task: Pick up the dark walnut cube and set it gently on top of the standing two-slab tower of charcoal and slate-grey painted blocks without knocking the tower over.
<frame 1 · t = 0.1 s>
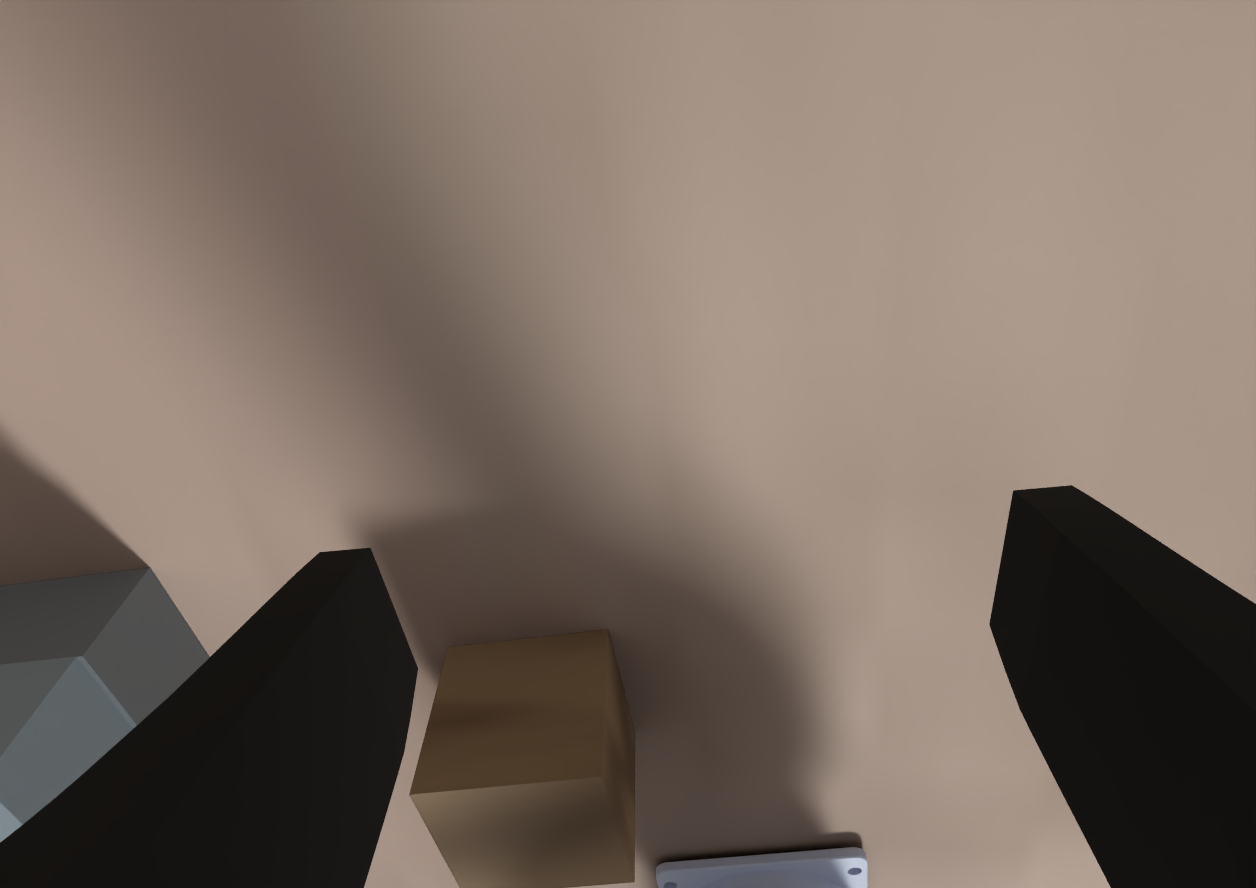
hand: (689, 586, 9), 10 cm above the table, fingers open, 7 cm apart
tower base: (112, 644, 25), on the table, touching tower middle
tower middle: (34, 741, 22), point 3 cm above the table, touching tower base
walnut cube: (545, 690, 26), on the table
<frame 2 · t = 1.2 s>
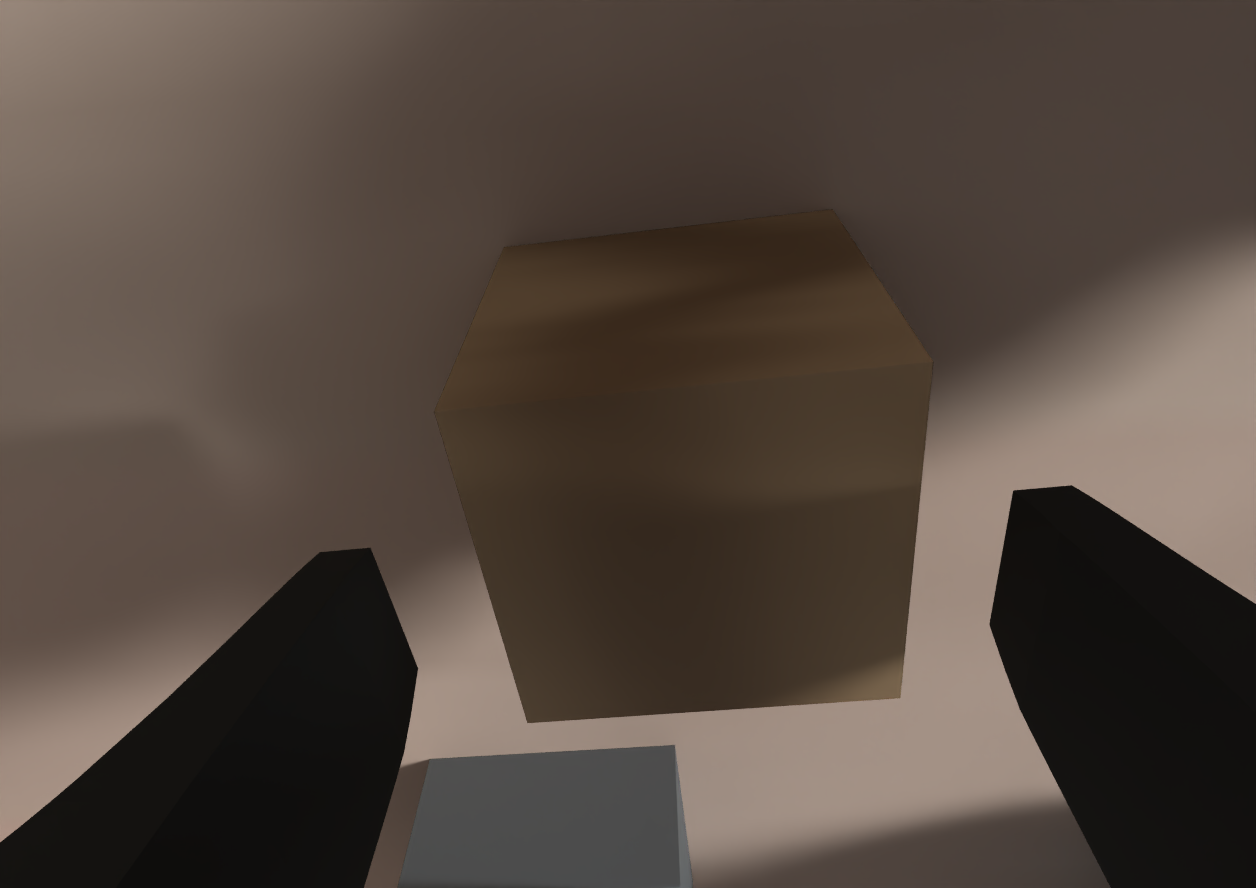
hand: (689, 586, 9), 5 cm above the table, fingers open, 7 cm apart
tower base: (570, 816, 21), on the table, touching tower middle
walnut cube: (679, 370, 13), on the table
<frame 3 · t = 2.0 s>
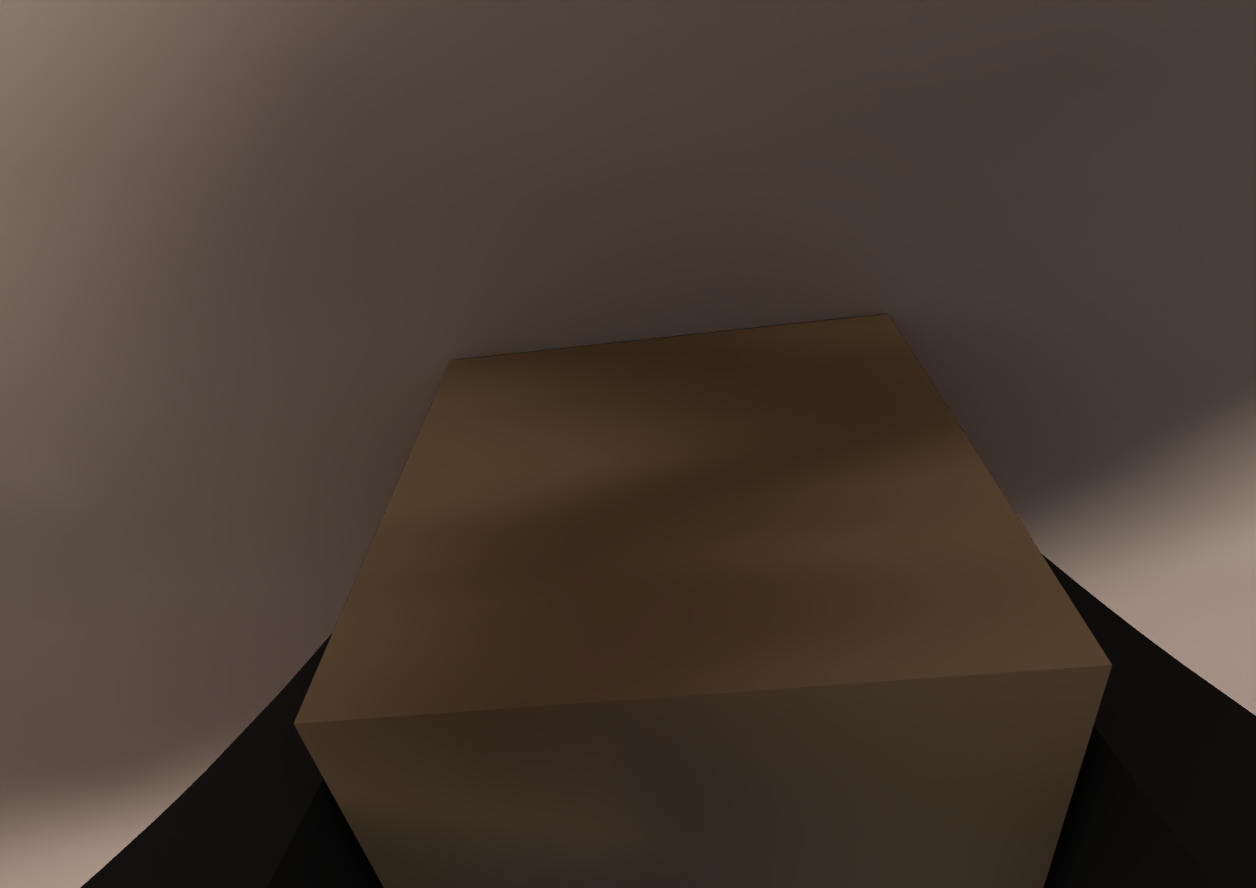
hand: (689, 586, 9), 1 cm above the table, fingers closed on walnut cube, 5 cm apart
walnut cube: (683, 510, 10), on the table, touching gripper
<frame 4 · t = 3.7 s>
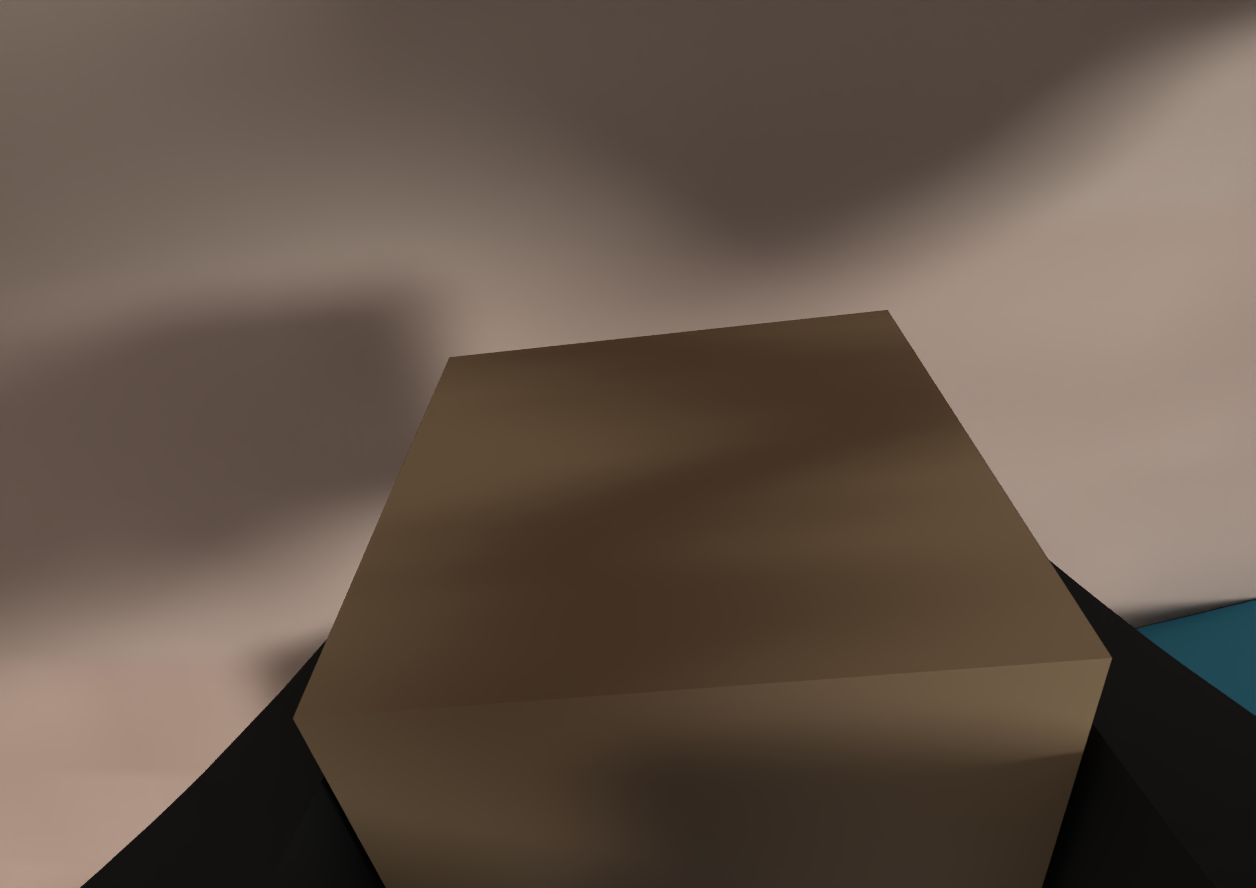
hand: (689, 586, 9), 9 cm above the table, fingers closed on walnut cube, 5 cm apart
walnut cube: (682, 507, 10), point 7 cm above the table, touching gripper
block: (1199, 702, 24), on the table
when the fingers open (9 cm above the table, at t = 5.2 s): walnut cube drops 1 cm, resting on tower middle.
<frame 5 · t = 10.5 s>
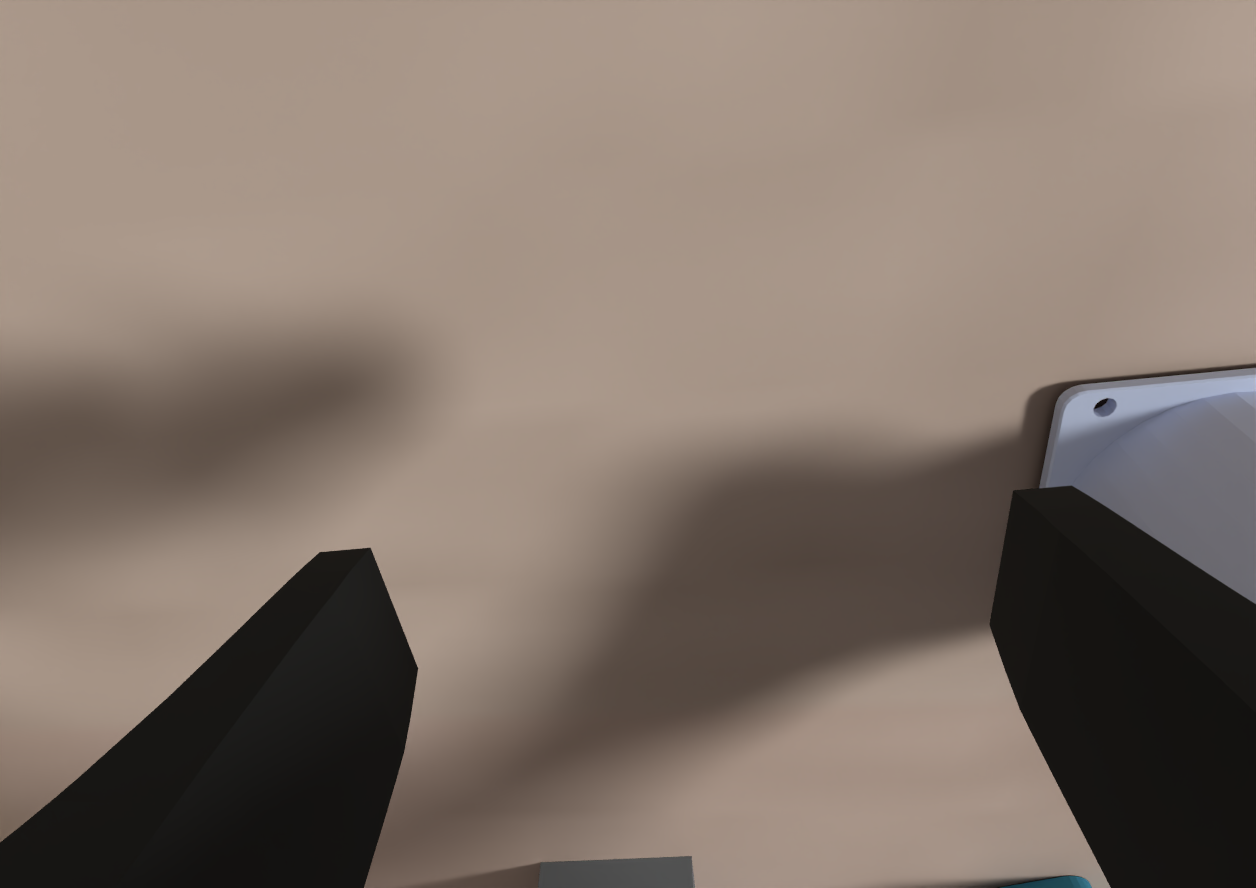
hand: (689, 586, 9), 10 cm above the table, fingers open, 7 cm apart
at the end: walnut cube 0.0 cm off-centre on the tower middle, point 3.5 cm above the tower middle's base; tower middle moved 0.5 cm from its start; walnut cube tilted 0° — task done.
